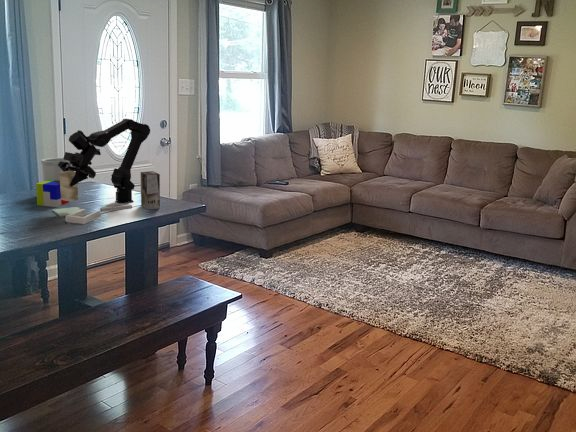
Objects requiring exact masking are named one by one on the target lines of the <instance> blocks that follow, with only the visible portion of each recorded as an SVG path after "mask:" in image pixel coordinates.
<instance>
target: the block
mask: <svg viewBox="0 0 576 432" xmlns="http://www.w3.org/2000/svg"><path fill="white" fill-rule="evenodd" d="M59 173H60V191H61V200H65V201H69V202H72V201H77V200H79V190H78V189H79V187H78V183H77V184H75V185H74V186H72V187H71V186H70V183H71V181H72V179H73V178H74V176H75V174H76V171H74V172H73V171H65V172H59Z"/></svg>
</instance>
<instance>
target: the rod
mask: <svg viewBox="0 0 576 432" xmlns="http://www.w3.org/2000/svg"><path fill="white" fill-rule="evenodd" d="M132 208H133V204H126V205H125V204H124V205H114V206H105V207H101V208H100V211H101V212H108V211H110V212H111V211H116V210H117V211H118V210H127V209H132Z"/></svg>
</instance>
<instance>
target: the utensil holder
mask: <svg viewBox="0 0 576 432" xmlns="http://www.w3.org/2000/svg"><path fill="white" fill-rule="evenodd" d="M63 158H64V157H50V158H49V157H48V158H42V159H41V161H40V162H41V164H42V177H43V181H46V180H57V181H60V173H59V172H64V171H63V170H62V169H61V168H60V167H59V166H58V164H59V162H61V161H64V162H68V163H69V162H70V161H68V160H64V159H63ZM69 164H70V163H69ZM70 165H71V166H72V164H70ZM73 172H75V171H73Z"/></svg>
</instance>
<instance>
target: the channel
mask: <svg viewBox="0 0 576 432" xmlns="http://www.w3.org/2000/svg"><path fill="white" fill-rule="evenodd" d="M81 209H82V210H79V211H77V212H74V213H72V214H69V215H67V216H64V217H65V222H66V223H72V224H80V225H81V224H83V225H85V224H87V223H89V222H92V221H94V220H96V219H98V218H101V217H102V216H101V215H102V213H101V212H102V211H101V210H96V211H94V212H92V213H89V214H87V212H86V211H87V210H86V208H81Z"/></svg>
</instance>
